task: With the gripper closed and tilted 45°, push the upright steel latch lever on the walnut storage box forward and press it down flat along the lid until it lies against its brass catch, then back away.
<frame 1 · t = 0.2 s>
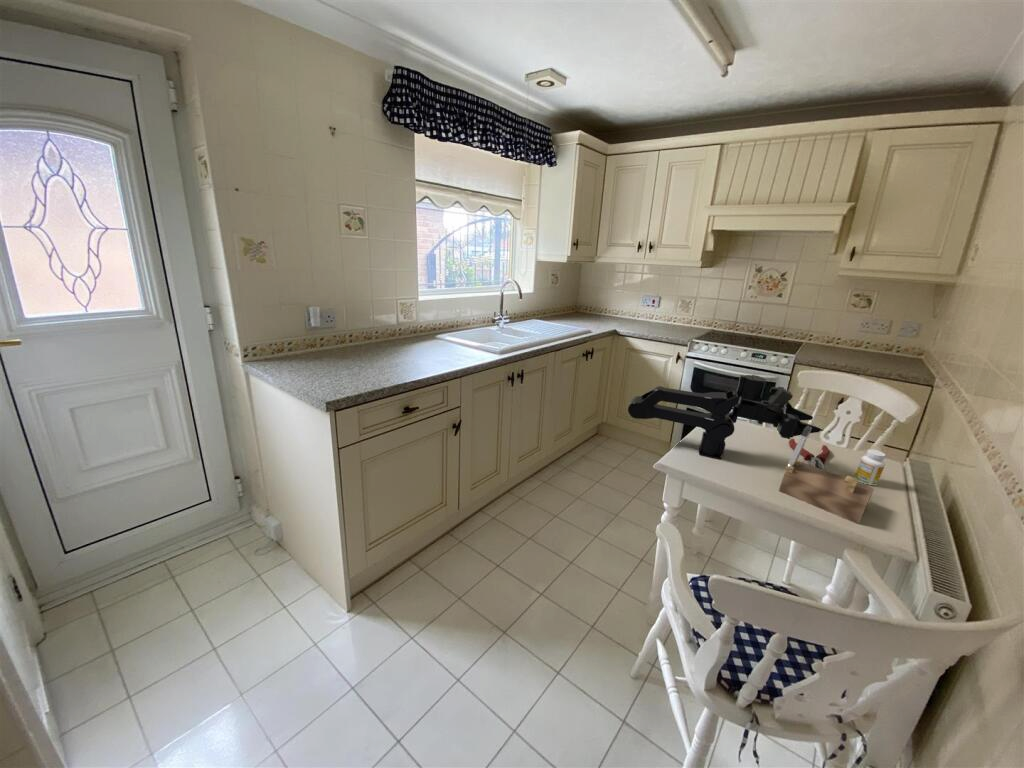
hand: (816, 423, 121), 17 cm above the table, tool horizontal, fingers open, 9 cm apart
storage box: (822, 498, 114), on the table
supplement bottle: (865, 481, 124), on the table
pliers: (805, 457, 138), on the table
latch lever: (799, 447, 116), point 12 cm above the table, hinge at 85.0°
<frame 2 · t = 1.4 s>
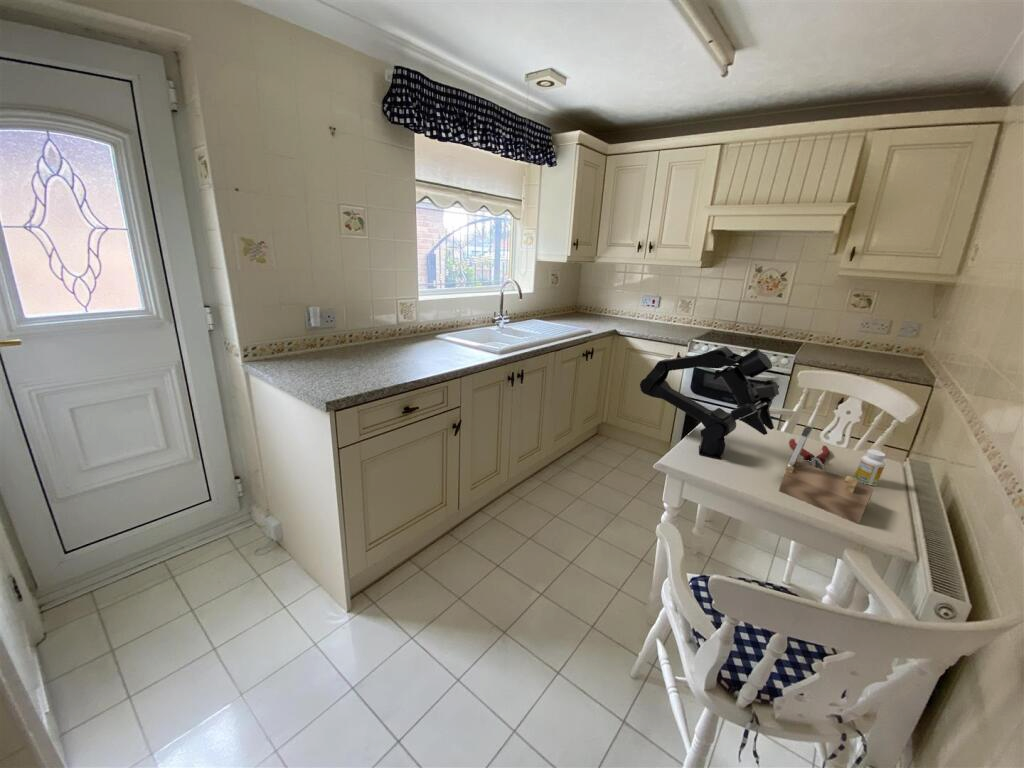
hand: (769, 431, 121), 14 cm above the table, tool tilted 45°, fingers open, 5 cm apart
nothing on the table moved.
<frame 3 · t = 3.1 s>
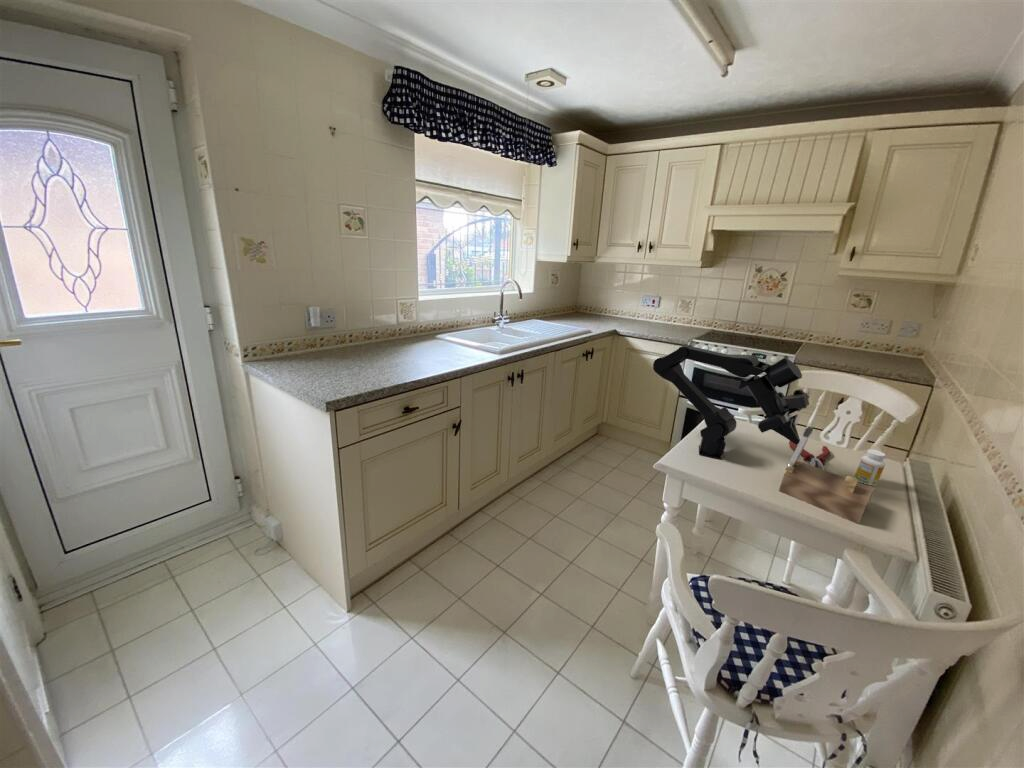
hand: (798, 443, 116), 13 cm above the table, tool tilted 45°, fingers closed, pressing on latch lever
latch lever: (799, 448, 116), point 12 cm above the table, hinge at 83.1°, touching gripper
everything else where it was.
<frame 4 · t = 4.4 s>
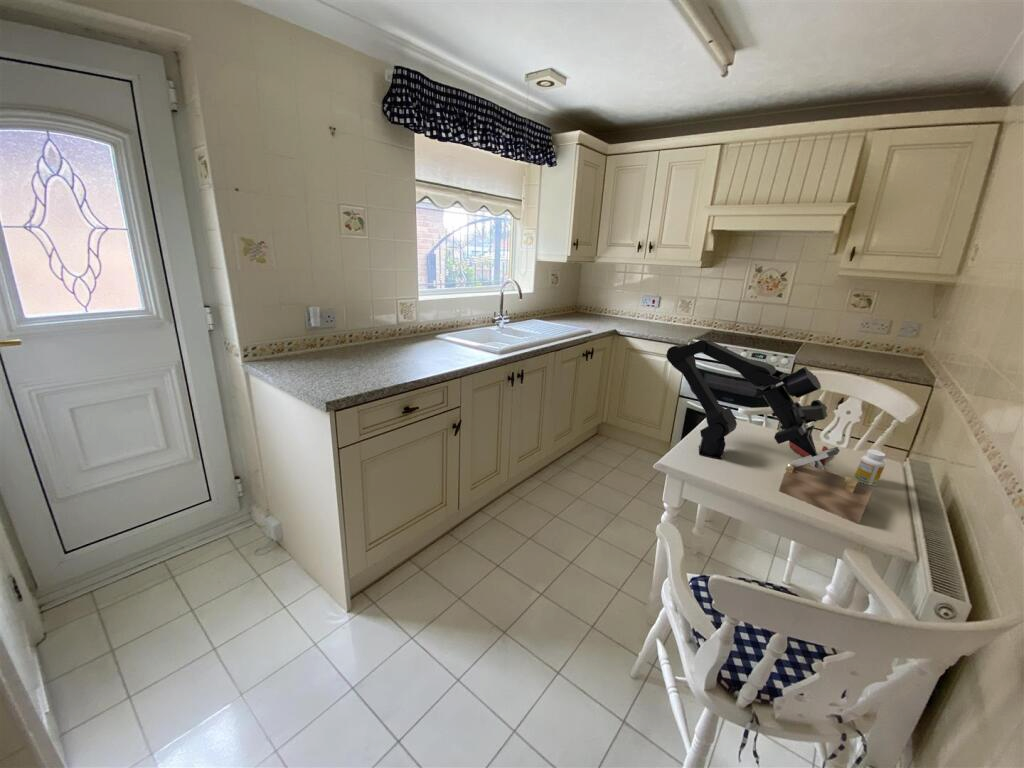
hand: (814, 455, 114), 11 cm above the table, tool tilted 45°, fingers closed, pressing on latch lever
latch lever: (812, 458, 114), point 10 cm above the table, hinge at 44.6°, touching gripper
everything else where it was.
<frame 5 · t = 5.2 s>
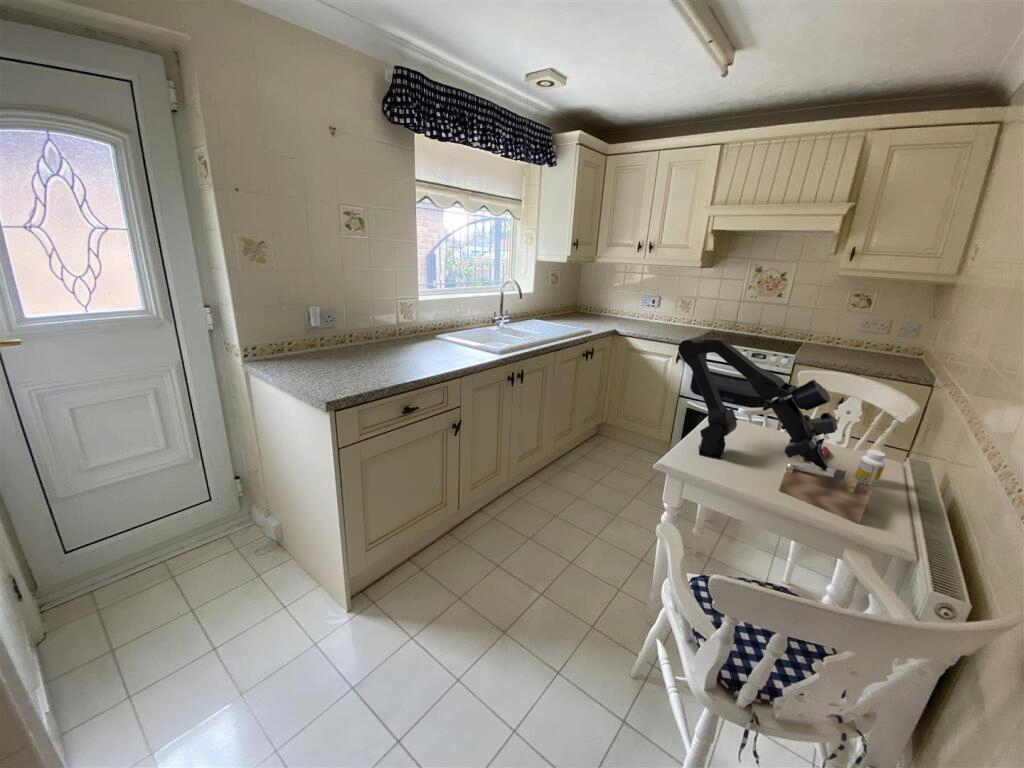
hand: (825, 468, 112), 9 cm above the table, tool tilted 45°, fingers closed, pressing on latch lever
latch lever: (815, 469, 114), point 7 cm above the table, hinge at 12.1°, touching gripper
everything else where it was.
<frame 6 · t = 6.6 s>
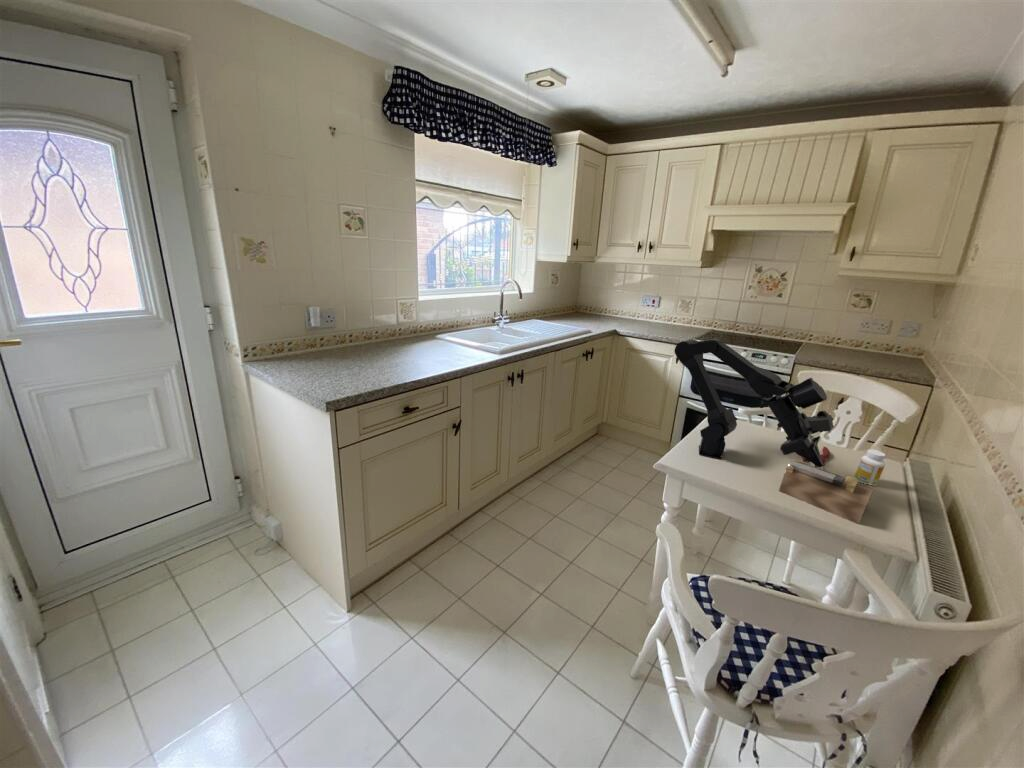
hand: (821, 466, 113), 9 cm above the table, tool tilted 45°, fingers closed
latch lever: (815, 472, 115), point 6 cm above the table, hinge at 2.2°
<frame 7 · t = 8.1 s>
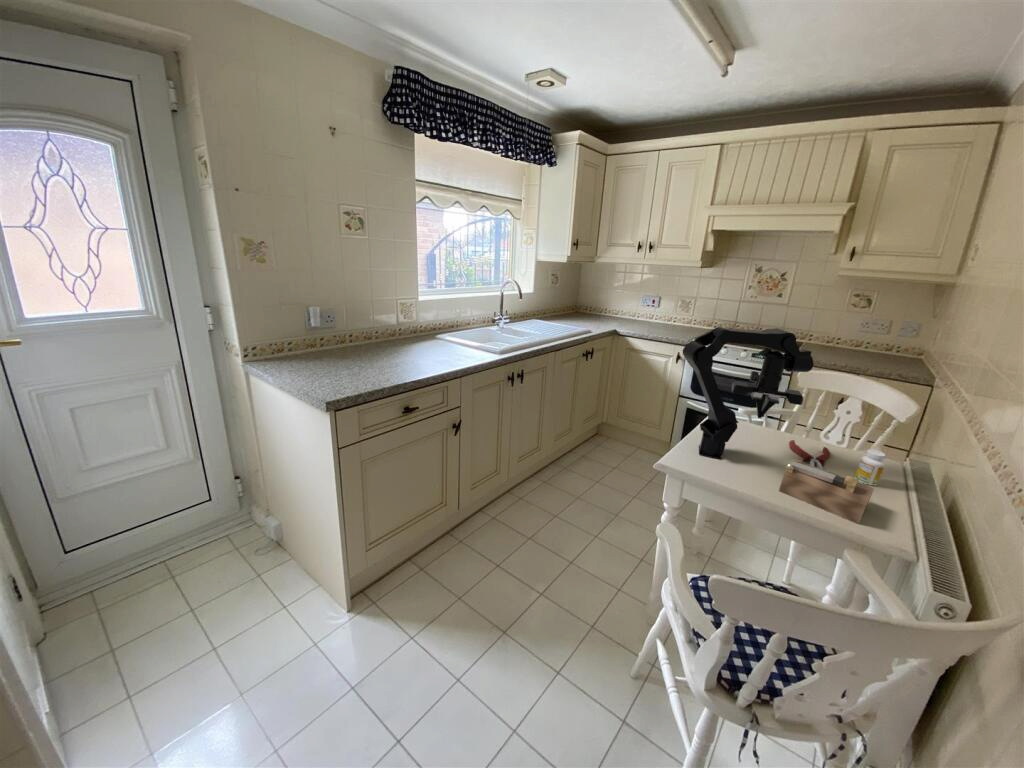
hand: (759, 417, 132), 13 cm above the table, tool pointing down, fingers closed
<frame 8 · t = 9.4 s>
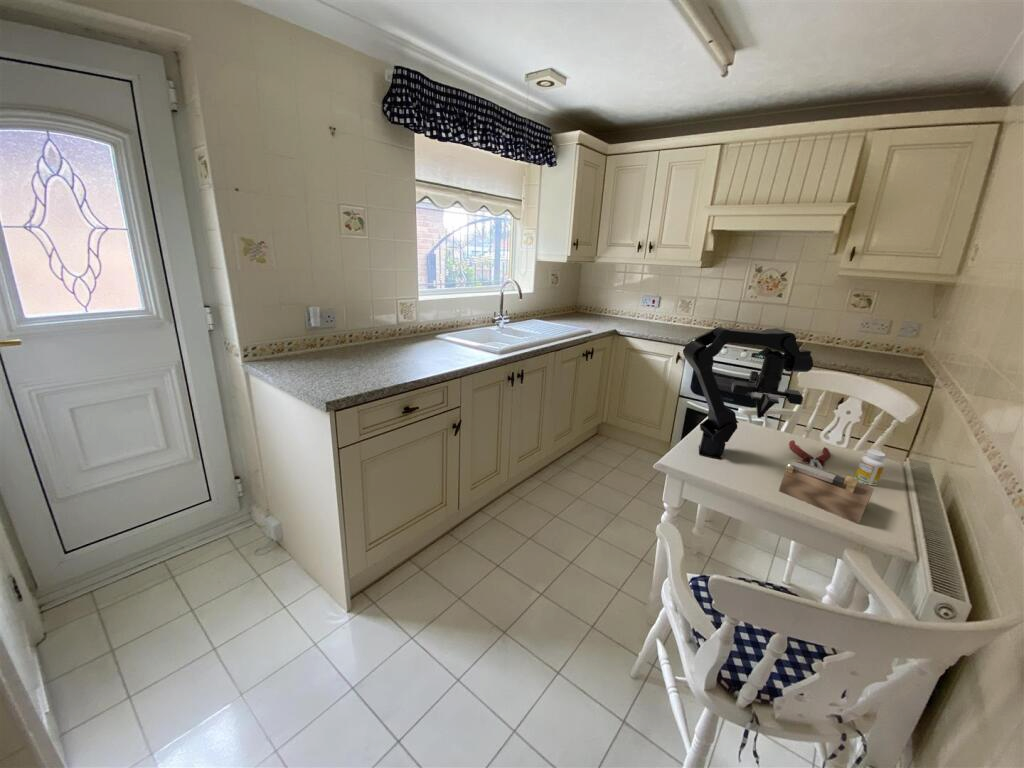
hand: (758, 417, 132), 13 cm above the table, tool pointing down, fingers closed
at the end: latch lever at +2° (first picture: +85°) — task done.
